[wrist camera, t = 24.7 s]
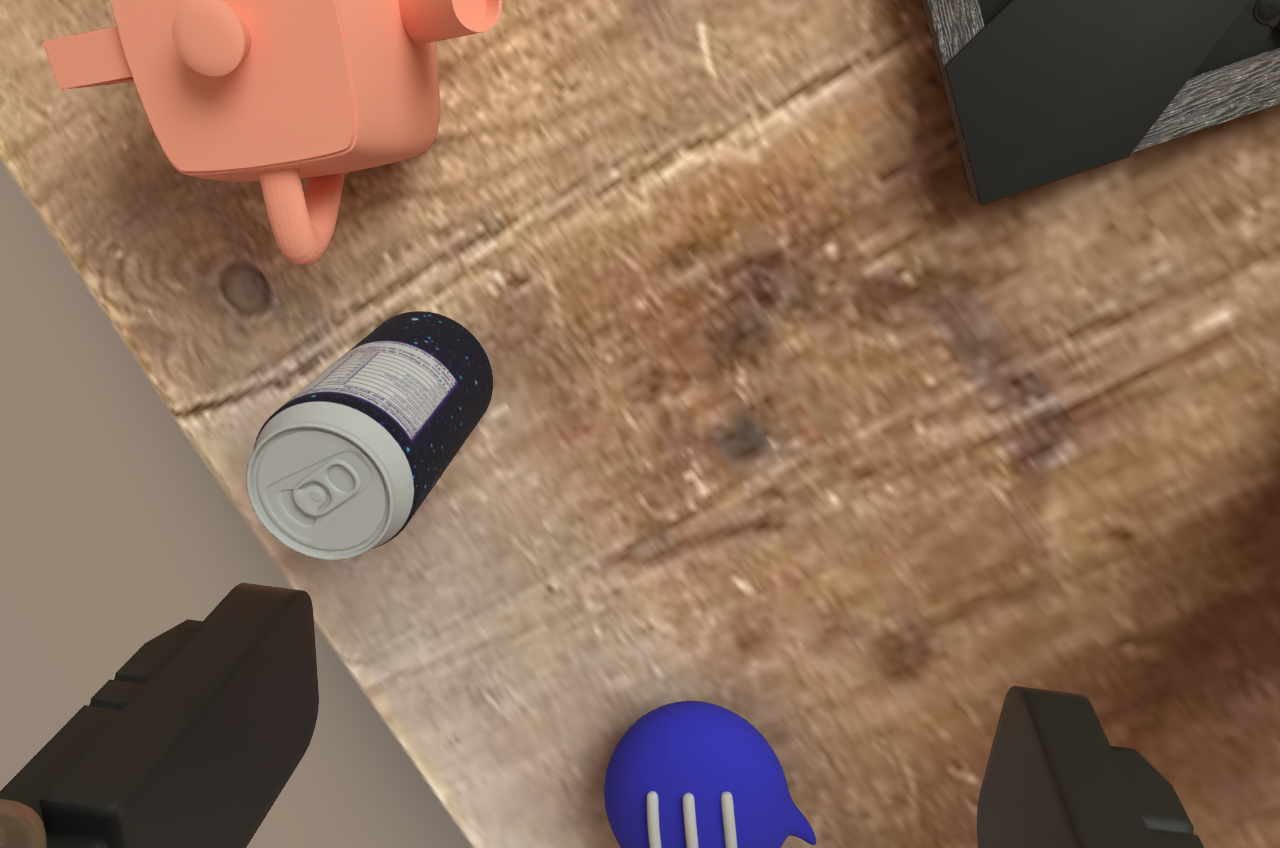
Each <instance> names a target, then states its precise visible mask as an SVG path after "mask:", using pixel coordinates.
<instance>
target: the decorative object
mask: <svg viewBox="0 0 1280 848" xmlns="http://www.w3.org/2000/svg"><path fill="white" fill-rule="evenodd" d="M604 797H605V807H606V812H607V817H608V820H609V823H610V826H611V829H612V831H613V833H614V835H615V838H616V840H617V841H618V843H619V845H620V847H621V848H781V846H782V844H783V843H784V841H785V840H786V838H787V837H788V836H790V835H791V836H796V837H799V838H801V839H803V840H804V841H806V842H807V843H809V844H812V845H815V844H816V838H815V835H814V832H813V830H812V828H811V826H810V824H809V822H808V821H807V820H806V818H805V817H804V816H803V814H802V813H801V812H800V811H799V809H798V808H797V807H796V806H795V804H794V803H793V801H792V799H791V796H790V793H789V789H788V786H787V782H786V778H785V775H784V772H783V769H782V767H781V765H780V762H779V760H778V758H777V756H776V755H775V753H774V751H773V749H772V748H771V746H770V745H769V744H768V742H767V741H766V740H765V738H764V737H763V736H762V735H761V734H760V733H759V732H758V731H757V730H756V729H755V728H754V727H753V726H752V725H751V724H750V723H749V722H747V721H746V720H745V719H743V718H742V717H740V716H739V715H737V714H735V713H733V712H732V711H730V710H727V709H725V708H723V707H720V706H717V705H714V704H710V703H705V702H697V701H682V702H676V703H671V704H668V705H665V706H661V707H659V708H657V709H655V710H653V711H651V712H649V713H648V714H646V715H644V716H643V717H641V718H640V719H639V720H638V721H636V722H635V723H634V724H633V725H632V726H631V727H630V728H629V729H628V731H627V732H626V733H625V734H624V736H623V737H622V738H621V740H620V741H619V743H618V744H617V746H616V748H615V750H614V752H613V754H612V756H611V759H610V762H609V765H608V768H607V772H606V777H605V785H604Z"/></svg>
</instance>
